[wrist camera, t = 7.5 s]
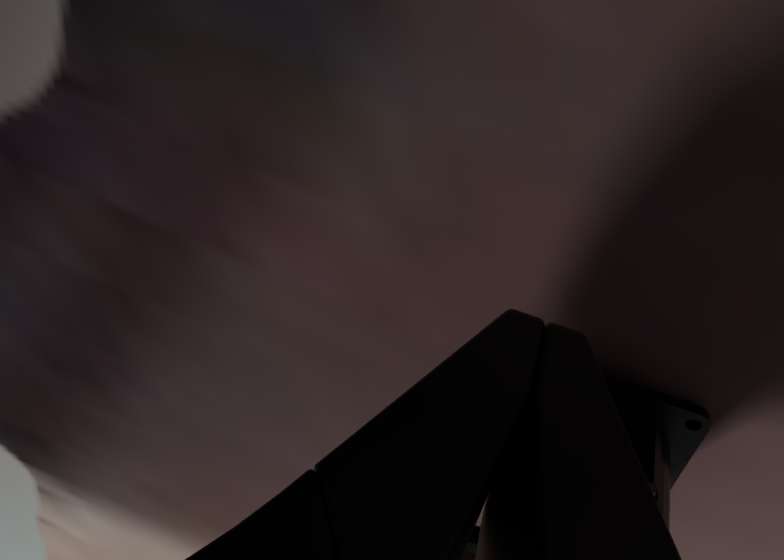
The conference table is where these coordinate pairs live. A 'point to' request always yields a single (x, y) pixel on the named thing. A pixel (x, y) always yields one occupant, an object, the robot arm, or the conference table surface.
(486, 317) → the conference table surface
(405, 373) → the conference table surface
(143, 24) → the conference table surface
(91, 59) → the conference table surface
